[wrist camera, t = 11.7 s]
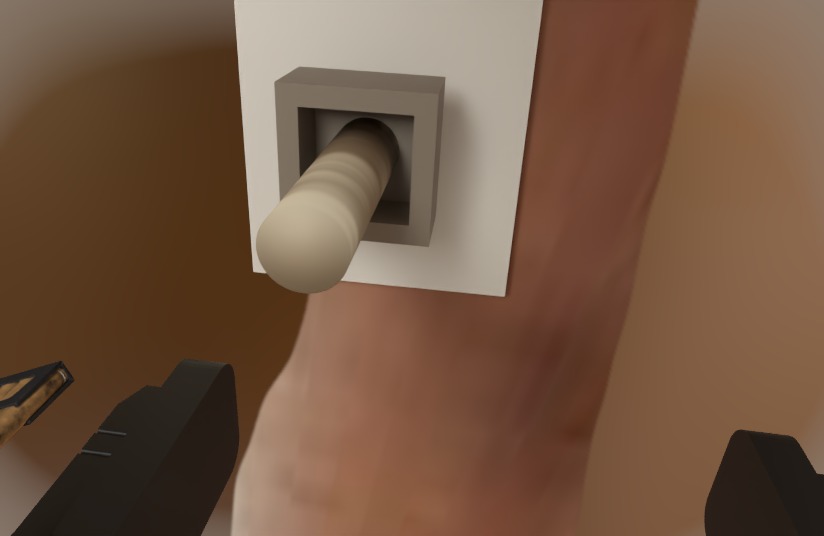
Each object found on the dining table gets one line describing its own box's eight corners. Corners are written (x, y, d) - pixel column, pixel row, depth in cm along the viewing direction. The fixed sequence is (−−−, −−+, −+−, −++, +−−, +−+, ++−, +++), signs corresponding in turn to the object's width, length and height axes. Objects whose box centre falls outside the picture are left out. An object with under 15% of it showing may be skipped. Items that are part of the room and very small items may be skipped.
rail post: (335, 114, 32) (252, 201, 21) (400, 119, 31) (350, 210, 21) (335, 177, 33) (258, 288, 22) (397, 182, 33) (349, 297, 22)
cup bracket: (238, -83, 34) (158, -91, 26) (549, -67, 32) (566, -70, 24) (261, 261, 43) (206, 334, 35) (504, 285, 41) (506, 367, 33)
